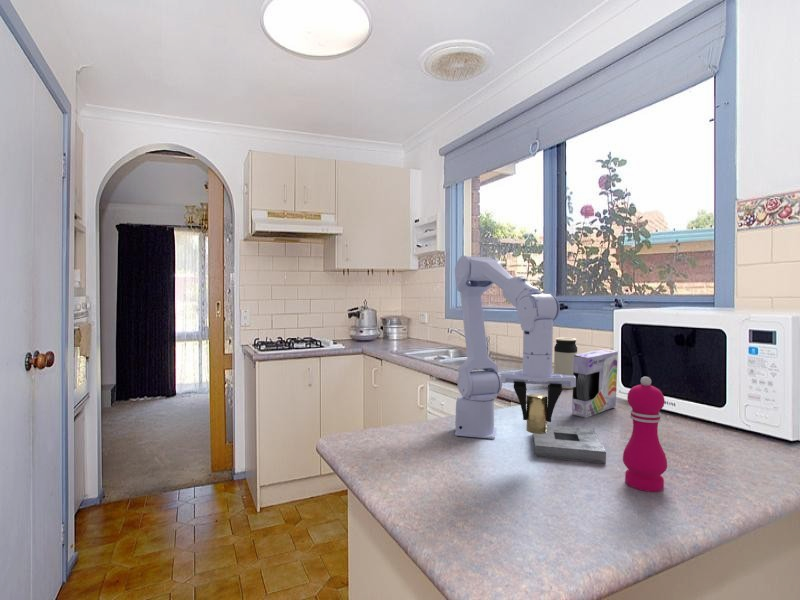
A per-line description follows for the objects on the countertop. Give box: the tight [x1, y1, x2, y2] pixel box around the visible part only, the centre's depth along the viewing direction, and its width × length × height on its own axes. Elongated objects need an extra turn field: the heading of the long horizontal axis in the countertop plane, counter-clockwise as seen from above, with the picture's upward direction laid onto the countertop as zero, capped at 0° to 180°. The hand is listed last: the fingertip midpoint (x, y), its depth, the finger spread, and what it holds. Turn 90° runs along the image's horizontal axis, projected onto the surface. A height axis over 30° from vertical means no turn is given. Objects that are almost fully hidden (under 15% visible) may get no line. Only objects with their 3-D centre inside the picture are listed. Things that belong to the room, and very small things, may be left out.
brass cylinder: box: [525, 393, 548, 434], centre depth 92 cm, size 4×4×7 cm
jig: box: [532, 424, 607, 465], centre depth 103 cm, size 14×16×2 cm
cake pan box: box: [571, 348, 619, 419], centre depth 134 cm, size 19×5×18 cm, turn 129°
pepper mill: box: [622, 376, 668, 492], centre depth 84 cm, size 7×7×20 cm
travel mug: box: [553, 336, 578, 390], centre depth 168 cm, size 8×8×18 cm
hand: (536, 419), depth 93 cm, fingers closed on brass cylinder, 4 cm apart
